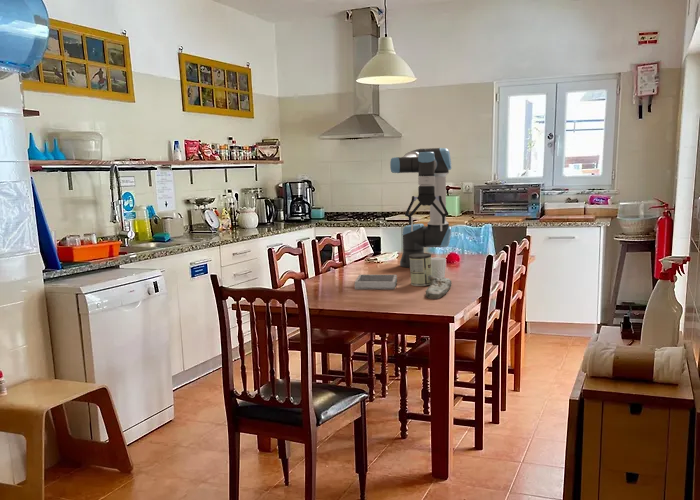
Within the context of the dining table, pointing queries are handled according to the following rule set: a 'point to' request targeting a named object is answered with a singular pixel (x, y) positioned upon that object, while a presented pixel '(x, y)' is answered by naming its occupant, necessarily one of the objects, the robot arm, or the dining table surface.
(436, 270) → the white cup
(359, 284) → the square holder
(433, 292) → the elongated rock
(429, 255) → the coffee can
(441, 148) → the robot arm
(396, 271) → the dining table surface
